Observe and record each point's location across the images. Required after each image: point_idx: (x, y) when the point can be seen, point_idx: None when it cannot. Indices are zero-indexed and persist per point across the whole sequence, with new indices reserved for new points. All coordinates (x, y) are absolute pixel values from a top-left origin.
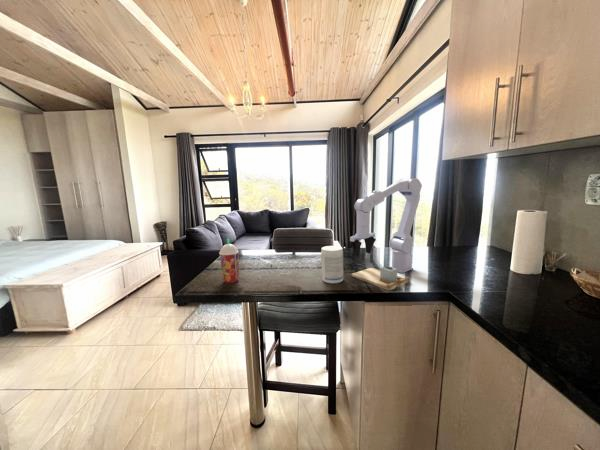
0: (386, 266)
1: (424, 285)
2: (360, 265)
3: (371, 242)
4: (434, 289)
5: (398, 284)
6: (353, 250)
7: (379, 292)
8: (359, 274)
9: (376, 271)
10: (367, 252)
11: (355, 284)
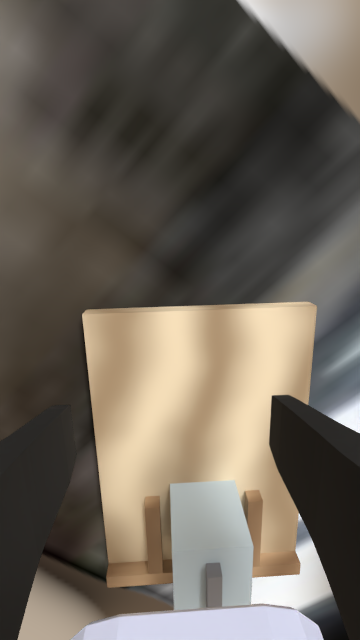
0: (207, 585)
1: (307, 595)
2: (333, 166)
3: (353, 636)
4: None
5: None
6: (4, 440)
7: (58, 548)
8: (121, 359)
9: (267, 385)
10: (273, 420)
11: (14, 422)
